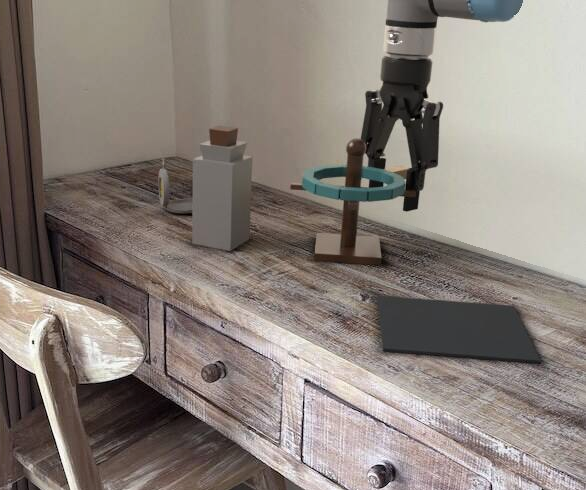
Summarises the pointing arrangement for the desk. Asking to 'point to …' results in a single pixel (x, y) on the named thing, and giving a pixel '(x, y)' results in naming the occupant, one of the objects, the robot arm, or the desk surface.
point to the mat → (454, 329)
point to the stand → (350, 220)
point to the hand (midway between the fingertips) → (392, 203)
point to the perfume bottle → (222, 191)
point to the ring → (388, 176)
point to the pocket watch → (164, 194)
